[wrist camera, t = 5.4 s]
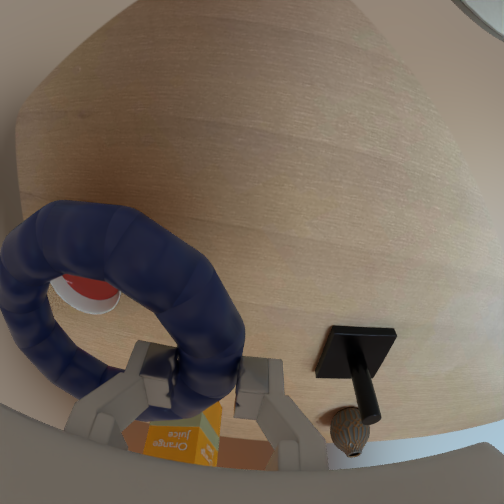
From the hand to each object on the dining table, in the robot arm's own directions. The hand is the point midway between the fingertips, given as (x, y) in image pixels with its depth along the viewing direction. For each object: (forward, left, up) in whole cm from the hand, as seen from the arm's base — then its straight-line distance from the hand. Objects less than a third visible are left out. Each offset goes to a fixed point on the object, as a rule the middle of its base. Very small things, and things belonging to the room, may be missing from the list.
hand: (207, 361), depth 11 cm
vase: (+38, +23, -21) cm, 49 cm away
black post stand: (+21, +18, -21) cm, 35 cm away
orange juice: (+35, -4, -21) cm, 41 cm away
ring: (0, -4, 0) cm, 4 cm away
